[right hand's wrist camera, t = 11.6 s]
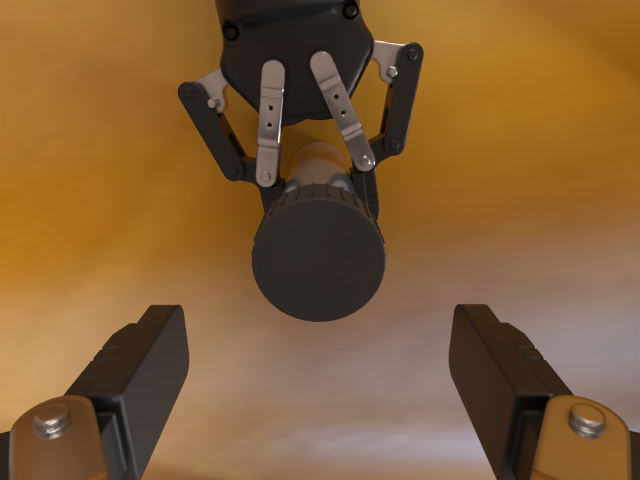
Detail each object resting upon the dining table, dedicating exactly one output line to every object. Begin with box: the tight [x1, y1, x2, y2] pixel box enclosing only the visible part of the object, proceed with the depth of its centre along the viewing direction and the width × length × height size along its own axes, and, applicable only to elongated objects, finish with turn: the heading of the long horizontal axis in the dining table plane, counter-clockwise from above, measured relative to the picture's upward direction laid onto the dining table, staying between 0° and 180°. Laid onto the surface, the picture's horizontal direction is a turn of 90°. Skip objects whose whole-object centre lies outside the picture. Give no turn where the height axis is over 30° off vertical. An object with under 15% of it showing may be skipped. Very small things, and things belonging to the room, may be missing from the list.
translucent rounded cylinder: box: [281, 142, 357, 196], centre depth 24 cm, size 4×4×17 cm
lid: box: [252, 183, 386, 322], centre depth 17 cm, size 5×5×2 cm
